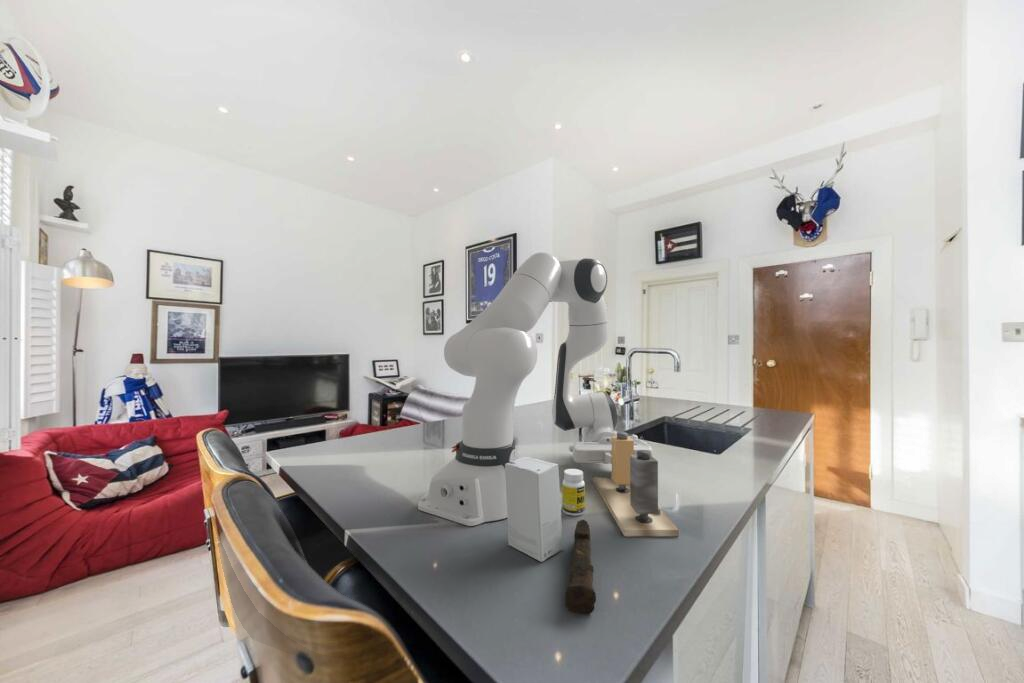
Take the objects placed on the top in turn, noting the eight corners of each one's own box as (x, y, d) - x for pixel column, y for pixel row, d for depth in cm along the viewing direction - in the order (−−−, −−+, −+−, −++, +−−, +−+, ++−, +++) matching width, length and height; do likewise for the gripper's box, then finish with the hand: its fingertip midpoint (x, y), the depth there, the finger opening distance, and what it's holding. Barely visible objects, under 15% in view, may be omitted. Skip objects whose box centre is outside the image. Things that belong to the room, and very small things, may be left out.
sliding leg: (616, 491, 84) (616, 435, 84) (611, 485, 88) (611, 431, 88) (633, 491, 84) (633, 435, 84) (628, 485, 88) (628, 431, 88)
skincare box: (563, 550, 64) (562, 464, 64) (540, 565, 60) (539, 473, 60) (527, 532, 70) (527, 453, 70) (504, 544, 66) (504, 461, 66)
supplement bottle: (579, 518, 75) (579, 477, 75) (558, 513, 78) (558, 473, 78) (588, 509, 79) (588, 470, 79) (567, 504, 82) (567, 466, 82)
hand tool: (595, 619, 48) (595, 584, 48) (564, 614, 49) (564, 579, 49) (598, 543, 67) (598, 517, 67) (576, 540, 68) (576, 514, 68)
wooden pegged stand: (624, 536, 68) (624, 458, 68) (593, 482, 94) (593, 425, 94) (678, 536, 68) (678, 458, 68) (633, 482, 94) (632, 425, 94)
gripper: (567, 434, 102) (576, 449, 88) (641, 434, 102) (661, 449, 88) (567, 457, 102) (576, 475, 88) (641, 457, 102) (661, 475, 88)
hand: (619, 462), depth 88 cm, fingers closed, pressing on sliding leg
